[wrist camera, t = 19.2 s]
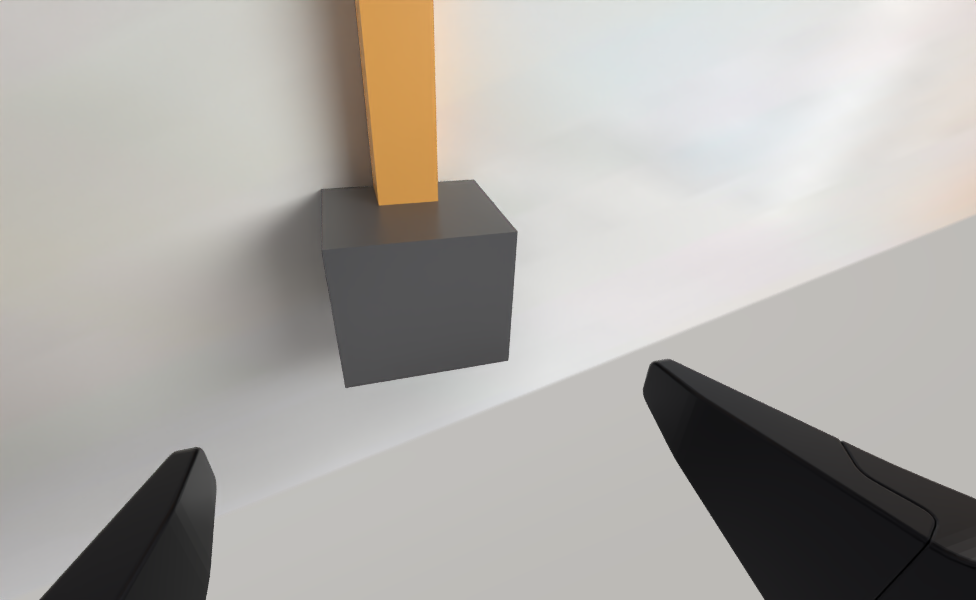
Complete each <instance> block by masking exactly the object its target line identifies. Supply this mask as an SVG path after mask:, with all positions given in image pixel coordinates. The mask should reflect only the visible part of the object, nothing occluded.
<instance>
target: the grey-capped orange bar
mask: <svg viewBox="0 0 976 600" xmlns="http://www.w3.org/2000/svg"><path fill="white" fill-rule="evenodd" d="M355 7H356V17H357V27H358V37H359V47H360V57H361V67H362V77H363V87H364V97H365V107H366V117H367V127H368V137H369V147H370V157H371V167H372V177H373V186H365V187H349V188H333V189H321V216H322V256H323V261H324V267H325V273H326V279H327V284H328V290H329V296H330V302H331V307H332V313H333V319H334V325H335V330H336V336H337V342H338V348H339V354H340V359H341V365H342V371H343V377H344V382H345V388H349V387H354V386H360V385H366V384H372V383H378V382H384V381H390V380H396V379H402V378H408V377H414V376H420V375H426V374H431V373H437V372H443V371H449V370H455V369H461V368H467V367H473V366H479V365H485V364H491V363H497V362H503V361H508V357H509V343H510V329H511V315H512V301H513V287H514V273H515V259H516V245H517V230H516V229H515V228H514V227H513V226H512V225H511V223H510V222H509V221H508V220H507V219H506V217H505V216H504V215H503V214H502V213H501V211H500V210H499V209H498V208H497V207H496V205H495V204H494V203H493V202H492V201H491V199H490V198H489V197H488V196H487V195H486V193H485V192H484V191H483V190H482V189H481V188H480V186H479V185H478V184H477V183H476V182H475V180H462V181H446V182H438V172H437V132H436V92H435V53H434V13H433V0H355Z"/></svg>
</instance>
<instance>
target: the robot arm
mask: <svg viewBox="0 0 976 600" xmlns="http://www.w3.org/2000/svg"><path fill="white" fill-rule="evenodd" d="M643 395H644V398H645V401H646V402H647V405H648V407H649V409H650V411H651V413H652V415H653V417H654V419H655V420H656V422H657V425H658V427H659V429H660V431H661V432H662V435H663V436H664V439H665V441H666V443H667V444H668V446H669V448H670V450H671V452H672V454H673V456H674V458H675V459H676V461H677V463H678V464H679V466H680V468H681V469H682V471H683V472H684V474H685V475H686V477H687V479H688V480H689V482H690V483H691V485H692V486H693V488H694V490H695V491H696V493H697V494H698V496H699V497H700V499H701V500H702V502H703V504H704V505H705V507H706V508H707V510H708V511H709V513H710V515H711V516H712V518H713V520H714V521H715V523H716V524H717V526H718V527H719V529H720V531H721V532H722V534H723V535H724V537H725V538H726V540H727V541H728V543H729V545H730V546H731V548H732V549H733V551H734V552H735V554H736V556H737V557H738V559H739V560H740V562H741V563H742V565H743V566H744V568H745V570H746V571H747V573H748V574H749V576H750V578H751V579H752V581H753V582H754V584H755V585H756V587H757V589H758V590H759V592H760V593H761V595H762V596H763V598H764V600H976V499H975V498H972V497H970V496H968V495H965V494H963V493H960V492H958V491H956V490H953V489H951V488H948V487H946V486H943V485H941V484H938V483H936V482H934V481H931V480H929V479H927V478H924V477H922V476H919V475H917V474H915V473H912V472H910V471H908V470H905V469H903V468H900V467H898V466H896V465H893V464H891V463H889V462H887V461H885V460H883V459H880V458H878V457H876V456H874V455H872V454H870V453H867V452H865V451H863V450H861V449H859V448H857V447H855V446H853V445H851V444H849V443H846V442H844V441H841V442H840V440H839V439H838V438H836V437H834V436H831V435H829V434H827V433H825V432H823V431H821V430H818V429H817V428H815V427H812V426H810V425H808V424H806V423H804V422H802V421H800V420H798V419H796V418H793V417H791V416H789V415H787V414H785V413H783V412H781V411H779V410H777V409H774V408H772V407H770V406H768V405H766V404H764V403H762V402H760V401H757V400H755V399H753V398H751V397H749V396H747V395H745V394H743V393H741V392H738V391H736V390H734V389H732V388H730V387H728V386H726V385H724V384H722V383H720V382H717V381H715V380H713V379H711V378H709V377H707V376H705V375H703V374H701V373H698V372H696V371H694V370H692V369H690V368H688V367H686V366H684V365H682V364H679V363H677V362H675V361H673V360H671V359H664V360H658V361H654V362H652V363H651V364H650V366H649V369H648V372H647V376H646V380H645V383H644V387H643ZM215 502H216V479H215V476H214V473H213V471H212V469H211V466H210V464H209V462H208V459H207V457H206V455H205V453H204V451H203V450H202V449H201V448H199V447H195V448H190V449H184V450H179V451H176V452H174V453H172V454H171V455H170V456H169V457H168V458H167V459H166V460H165V461H164V462H163V464H162V465H161V466H160V467H159V468H158V469H157V470H156V471H155V472H154V473H153V475H152V476H151V477H150V478H149V479H148V480H147V481H146V482H145V483H144V485H143V486H142V487H141V488H140V489H139V490H138V491H137V492H136V493H135V495H134V496H133V497H132V498H131V499H130V500H129V501H128V502H127V503H126V504H125V506H124V507H123V508H122V509H121V510H120V511H119V512H118V513H117V514H116V516H115V517H114V518H113V519H112V520H111V521H110V522H109V523H108V524H107V525H106V527H105V528H104V529H103V530H102V531H101V532H100V533H99V534H98V535H97V537H96V538H95V539H94V540H93V541H92V542H91V543H90V544H89V545H88V547H87V548H86V549H85V550H84V551H83V552H82V553H81V554H80V555H79V556H78V558H77V559H76V560H75V561H74V562H73V563H72V564H71V565H70V566H69V568H68V569H67V570H66V571H65V572H64V573H63V574H62V575H61V576H60V577H59V579H58V580H57V581H56V582H55V583H54V584H53V585H52V586H51V587H50V589H49V590H48V591H47V592H46V593H45V594H44V595H43V596H42V597H41V599H40V600H206V595H207V590H208V584H209V578H210V568H211V556H212V543H213V529H214V516H215Z"/></svg>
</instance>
